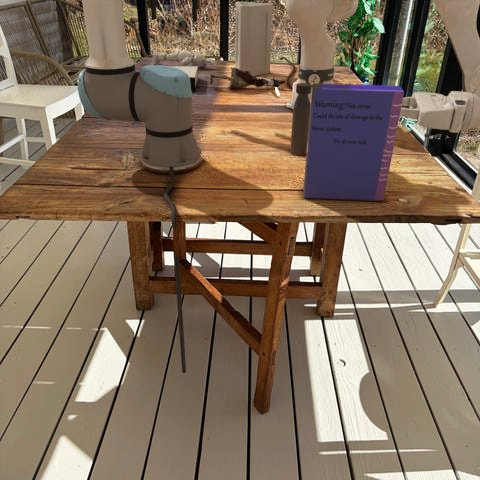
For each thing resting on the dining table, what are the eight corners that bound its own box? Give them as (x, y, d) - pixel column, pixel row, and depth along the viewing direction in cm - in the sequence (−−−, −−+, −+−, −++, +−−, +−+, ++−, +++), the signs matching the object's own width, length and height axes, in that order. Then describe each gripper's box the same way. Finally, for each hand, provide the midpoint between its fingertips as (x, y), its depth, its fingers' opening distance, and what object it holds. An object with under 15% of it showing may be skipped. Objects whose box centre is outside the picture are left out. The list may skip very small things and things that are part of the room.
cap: (312, 91, 124) (313, 83, 123) (308, 95, 121) (308, 87, 120) (298, 90, 125) (299, 82, 124) (293, 93, 122) (294, 85, 121)
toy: (171, 74, 211) (170, 58, 208) (148, 64, 229) (146, 49, 225) (218, 68, 223) (218, 53, 219) (192, 59, 240) (192, 44, 237)
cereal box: (379, 191, 109) (398, 84, 97) (383, 201, 105) (404, 90, 93) (303, 188, 110) (312, 82, 98) (304, 197, 106) (314, 88, 94)
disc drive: (150, 90, 186) (149, 77, 184) (157, 77, 206) (156, 65, 203) (195, 90, 187) (195, 77, 184) (198, 77, 206) (198, 65, 203)
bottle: (308, 150, 132) (315, 85, 123) (303, 156, 129) (309, 89, 119) (293, 148, 134) (298, 83, 125) (287, 153, 130) (292, 87, 121)
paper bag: (273, 76, 210) (276, 6, 196) (239, 77, 209) (240, 6, 194) (266, 67, 226) (268, 2, 212) (235, 67, 225) (235, 1, 210)
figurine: (210, 87, 179) (288, 95, 182) (212, 65, 176) (291, 73, 180) (208, 84, 201) (278, 91, 205) (210, 64, 198) (280, 71, 202)
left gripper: (214, -58, 143) (215, 20, 153) (135, -59, 146) (141, 17, 157) (207, -58, 136) (209, 23, 147) (125, -59, 140) (133, 20, 151)
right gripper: (451, 87, 124) (396, 84, 127) (465, 107, 107) (401, 103, 109) (445, 111, 127) (392, 108, 130) (458, 135, 110) (396, 130, 113)
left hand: (174, 20), depth 152 cm, fingers open, 13 cm apart
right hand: (396, 106), depth 119 cm, fingers open, 8 cm apart
